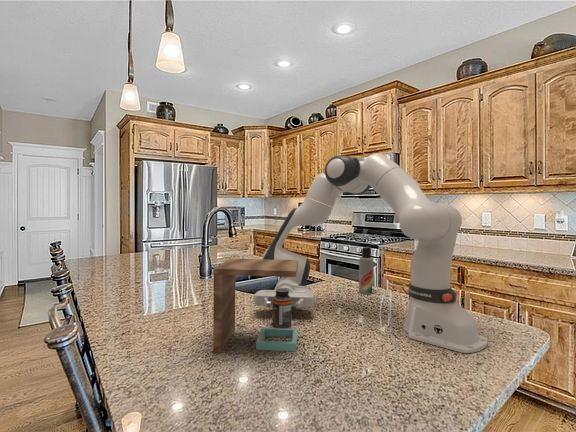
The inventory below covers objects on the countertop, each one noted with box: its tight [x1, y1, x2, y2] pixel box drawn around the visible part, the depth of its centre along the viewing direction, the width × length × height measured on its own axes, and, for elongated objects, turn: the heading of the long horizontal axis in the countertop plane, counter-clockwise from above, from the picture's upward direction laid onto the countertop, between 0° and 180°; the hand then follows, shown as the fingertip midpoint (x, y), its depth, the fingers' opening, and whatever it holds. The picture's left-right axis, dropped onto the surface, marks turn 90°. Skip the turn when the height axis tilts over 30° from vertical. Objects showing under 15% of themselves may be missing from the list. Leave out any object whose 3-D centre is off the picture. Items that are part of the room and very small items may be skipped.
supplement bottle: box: [271, 288, 293, 328], centre depth 106 cm, size 6×6×11 cm
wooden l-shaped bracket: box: [212, 257, 298, 354], centre depth 93 cm, size 21×16×22 cm
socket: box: [255, 326, 299, 352], centre depth 93 cm, size 10×10×2 cm
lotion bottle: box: [358, 246, 374, 295], centre depth 145 cm, size 6×6×20 cm
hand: (282, 305), depth 107 cm, fingers open, 8 cm apart
